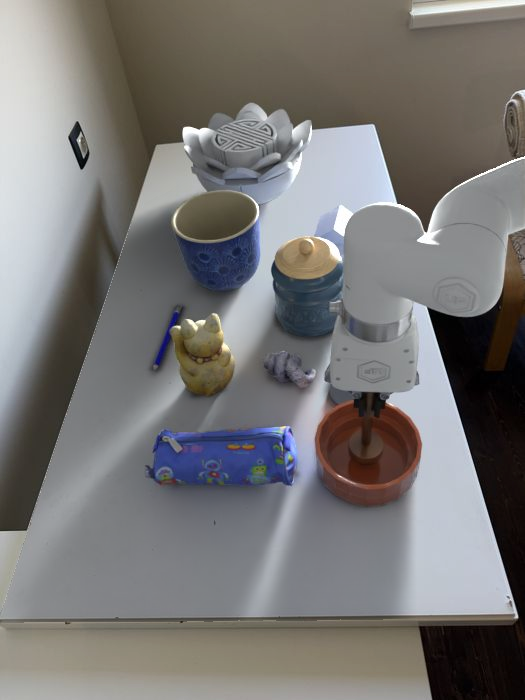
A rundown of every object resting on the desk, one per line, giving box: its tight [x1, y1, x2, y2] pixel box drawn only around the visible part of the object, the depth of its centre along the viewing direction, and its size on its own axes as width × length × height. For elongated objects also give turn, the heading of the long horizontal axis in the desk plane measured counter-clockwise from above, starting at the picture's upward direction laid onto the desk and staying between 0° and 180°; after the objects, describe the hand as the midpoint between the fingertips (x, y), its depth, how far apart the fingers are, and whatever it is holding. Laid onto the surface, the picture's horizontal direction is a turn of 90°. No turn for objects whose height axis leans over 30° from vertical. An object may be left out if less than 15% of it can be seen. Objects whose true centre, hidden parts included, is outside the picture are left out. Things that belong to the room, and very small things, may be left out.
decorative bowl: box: [182, 102, 312, 205], centre depth 132 cm, size 30×30×15 cm
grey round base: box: [329, 383, 354, 406], centre depth 94 cm, size 8×8×1 cm
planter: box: [170, 190, 261, 292], centre depth 112 cm, size 17×17×15 cm
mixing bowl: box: [314, 400, 423, 507], centre depth 83 cm, size 15×15×6 cm
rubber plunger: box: [348, 392, 383, 466], centre depth 77 cm, size 5×5×16 cm
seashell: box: [261, 351, 316, 388], centre depth 96 cm, size 5×5×10 cm
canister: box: [270, 236, 343, 338], centre depth 101 cm, size 13×13×18 cm
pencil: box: [153, 304, 182, 372], centre depth 107 cm, size 17×1×1 cm, turn 170°
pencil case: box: [144, 425, 298, 487], centre depth 83 cm, size 22×9×10 cm, turn 87°
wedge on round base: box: [313, 204, 354, 260], centre depth 118 cm, size 9×7×13 cm
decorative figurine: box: [169, 312, 236, 397], centre depth 93 cm, size 10×8×15 cm
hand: (368, 408), depth 75 cm, fingers closed on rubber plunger, 1 cm apart
